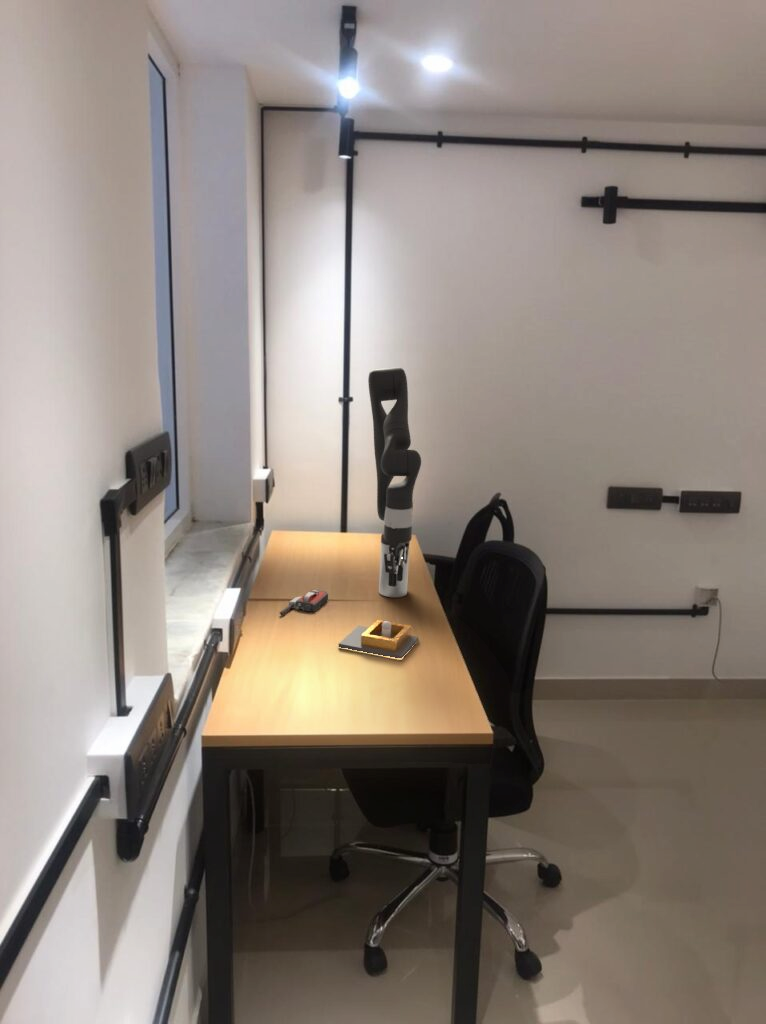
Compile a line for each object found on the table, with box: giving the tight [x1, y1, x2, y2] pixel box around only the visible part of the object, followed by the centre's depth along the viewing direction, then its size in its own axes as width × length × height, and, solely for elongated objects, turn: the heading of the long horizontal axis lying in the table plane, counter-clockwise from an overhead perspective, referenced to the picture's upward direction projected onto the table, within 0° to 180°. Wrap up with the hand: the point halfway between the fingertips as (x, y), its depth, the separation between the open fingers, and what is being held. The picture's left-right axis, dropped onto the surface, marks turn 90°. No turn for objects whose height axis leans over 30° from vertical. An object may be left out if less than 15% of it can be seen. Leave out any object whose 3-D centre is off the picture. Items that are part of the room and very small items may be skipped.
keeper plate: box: [338, 620, 419, 658], centre depth 209 cm, size 14×18×7 cm
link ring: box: [361, 619, 412, 652], centre depth 209 cm, size 12×10×3 cm
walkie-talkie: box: [279, 589, 329, 615], centre depth 235 cm, size 9×4×20 cm
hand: (395, 582), depth 210 cm, fingers open, 4 cm apart
